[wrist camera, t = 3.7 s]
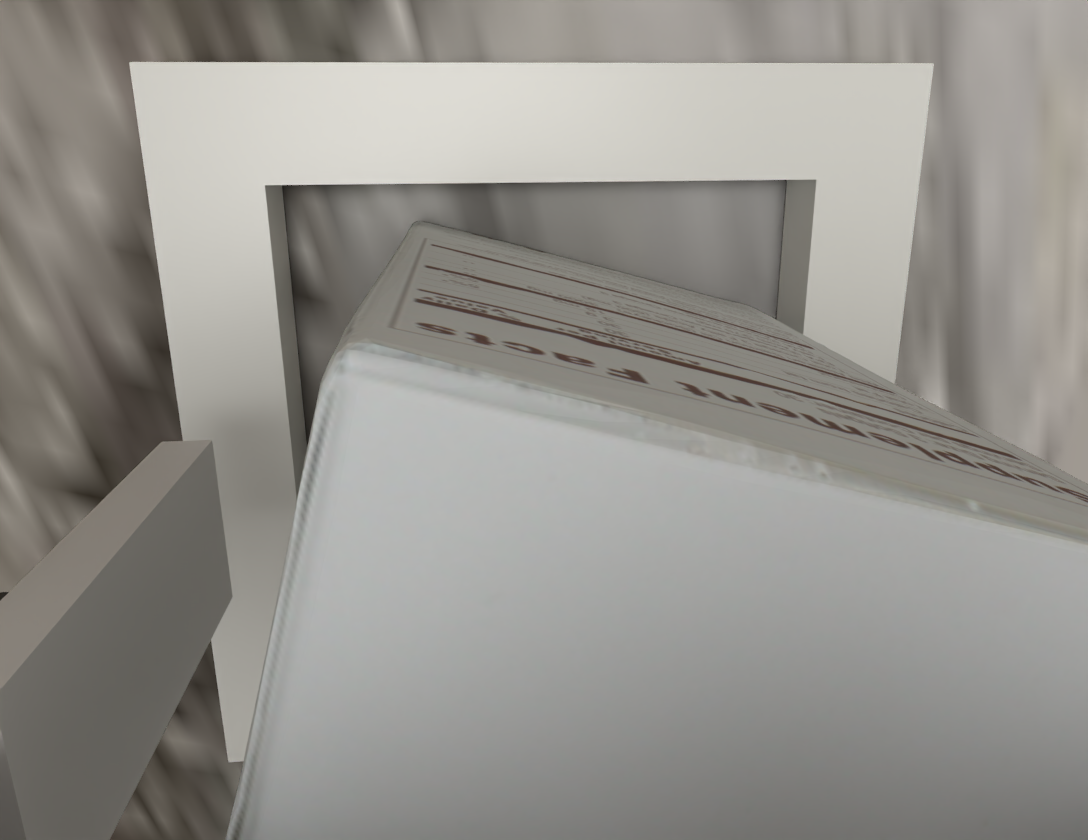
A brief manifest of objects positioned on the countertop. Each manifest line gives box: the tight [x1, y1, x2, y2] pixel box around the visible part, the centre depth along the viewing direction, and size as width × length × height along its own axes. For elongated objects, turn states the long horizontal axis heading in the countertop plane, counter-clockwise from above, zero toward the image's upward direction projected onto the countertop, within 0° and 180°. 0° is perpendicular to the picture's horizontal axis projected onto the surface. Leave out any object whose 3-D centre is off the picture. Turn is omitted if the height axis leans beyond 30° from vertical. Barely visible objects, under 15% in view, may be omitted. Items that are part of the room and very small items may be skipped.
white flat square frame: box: [129, 62, 934, 762], centre depth 18 cm, size 14×14×2 cm
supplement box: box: [225, 221, 1088, 840], centre depth 12 cm, size 7×7×13 cm
